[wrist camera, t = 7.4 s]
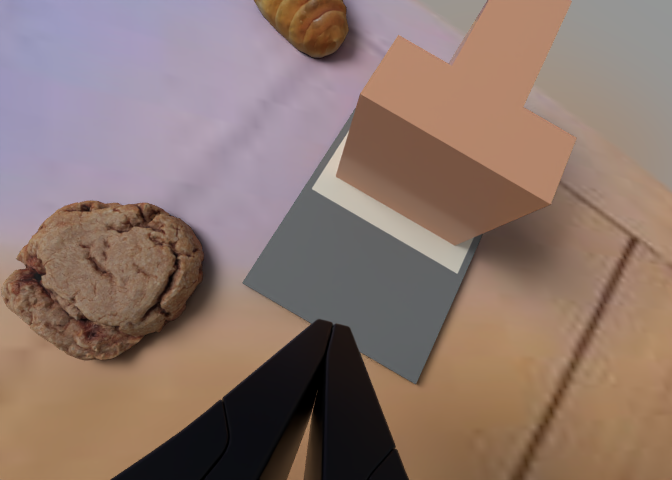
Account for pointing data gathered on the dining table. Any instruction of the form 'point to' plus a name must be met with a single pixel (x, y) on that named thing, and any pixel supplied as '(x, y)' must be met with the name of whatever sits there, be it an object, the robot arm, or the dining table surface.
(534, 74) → the tee
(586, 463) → the dining table surface
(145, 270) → the cookie
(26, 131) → the dining table surface
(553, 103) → the dining table surface
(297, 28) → the pastry
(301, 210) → the board
